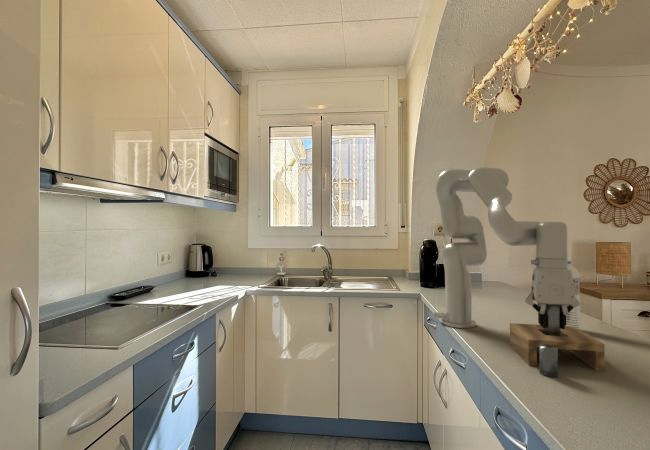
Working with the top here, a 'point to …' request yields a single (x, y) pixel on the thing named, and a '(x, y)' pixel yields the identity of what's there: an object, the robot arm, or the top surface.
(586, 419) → the top surface
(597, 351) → the bridge
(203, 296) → the top surface
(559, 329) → the long pin
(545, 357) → the short pin
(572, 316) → the water bottle
